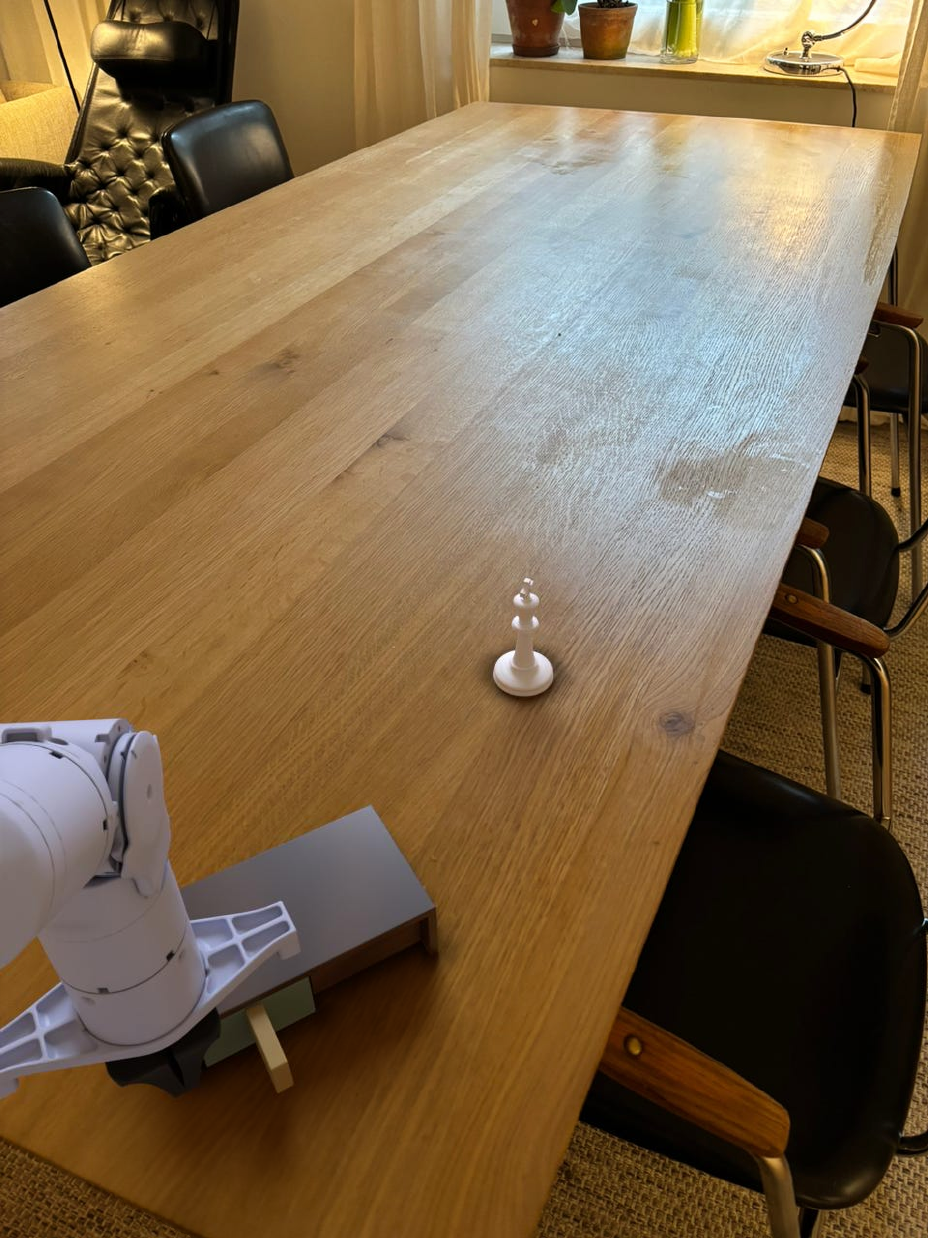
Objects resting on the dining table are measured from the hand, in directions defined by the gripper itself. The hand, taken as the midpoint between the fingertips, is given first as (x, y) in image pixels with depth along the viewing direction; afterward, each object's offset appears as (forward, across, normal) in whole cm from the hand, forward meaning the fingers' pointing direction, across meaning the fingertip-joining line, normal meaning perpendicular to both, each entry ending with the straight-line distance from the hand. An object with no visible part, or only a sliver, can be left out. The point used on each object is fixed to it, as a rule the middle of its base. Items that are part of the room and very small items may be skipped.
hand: (181, 1075), depth 52 cm
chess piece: (+6, -34, -21) cm, 41 cm away
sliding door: (+5, -5, -1) cm, 7 cm away
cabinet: (+5, -8, -7) cm, 12 cm away
